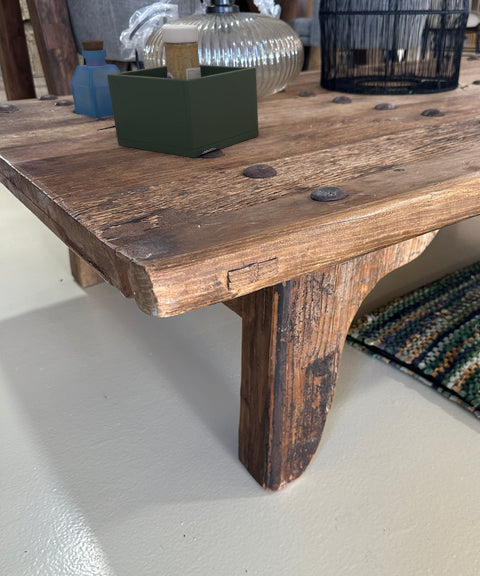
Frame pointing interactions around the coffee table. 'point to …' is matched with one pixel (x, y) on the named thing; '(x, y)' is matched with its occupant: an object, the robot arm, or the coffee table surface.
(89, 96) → the perfume bottle
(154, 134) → the square planter pot
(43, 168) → the coffee table surface
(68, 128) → the coffee table surface
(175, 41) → the sprinkles bottle
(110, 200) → the coffee table surface
